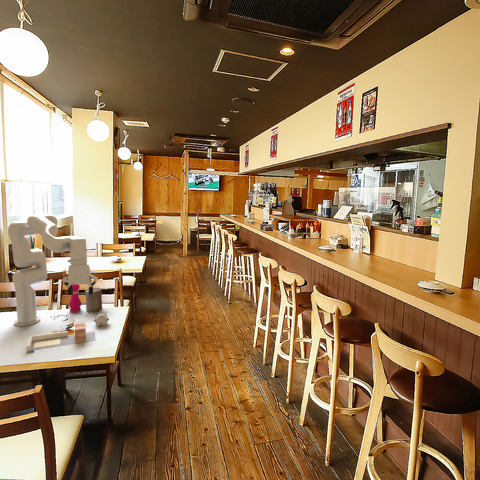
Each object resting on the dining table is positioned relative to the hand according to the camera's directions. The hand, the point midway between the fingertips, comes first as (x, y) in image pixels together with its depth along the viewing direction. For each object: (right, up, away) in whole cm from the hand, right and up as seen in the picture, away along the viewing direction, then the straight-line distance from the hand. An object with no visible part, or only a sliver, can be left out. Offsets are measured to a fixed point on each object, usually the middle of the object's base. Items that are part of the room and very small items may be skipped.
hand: (81, 294), depth 167 cm
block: (-2, -24, +3) cm, 24 cm away
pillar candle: (-14, -18, +46) cm, 51 cm away
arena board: (-9, -25, 0) cm, 26 cm away
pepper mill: (-25, -18, +43) cm, 53 cm away
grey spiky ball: (+2, -22, +20) cm, 30 cm away
